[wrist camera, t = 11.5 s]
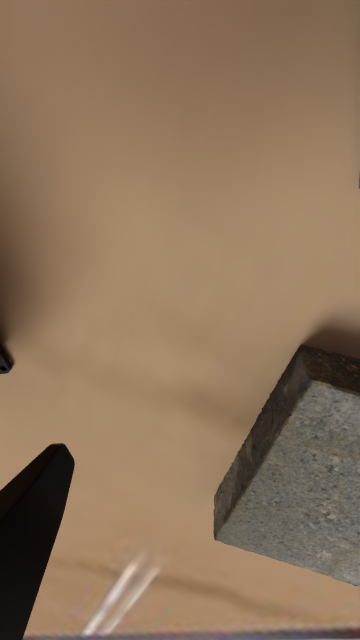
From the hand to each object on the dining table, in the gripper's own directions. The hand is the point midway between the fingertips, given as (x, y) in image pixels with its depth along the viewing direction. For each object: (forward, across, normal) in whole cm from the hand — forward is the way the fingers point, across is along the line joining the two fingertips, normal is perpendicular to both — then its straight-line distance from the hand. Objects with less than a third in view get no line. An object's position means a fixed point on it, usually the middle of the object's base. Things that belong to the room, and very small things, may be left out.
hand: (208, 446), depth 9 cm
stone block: (+13, -6, +17) cm, 22 cm away
